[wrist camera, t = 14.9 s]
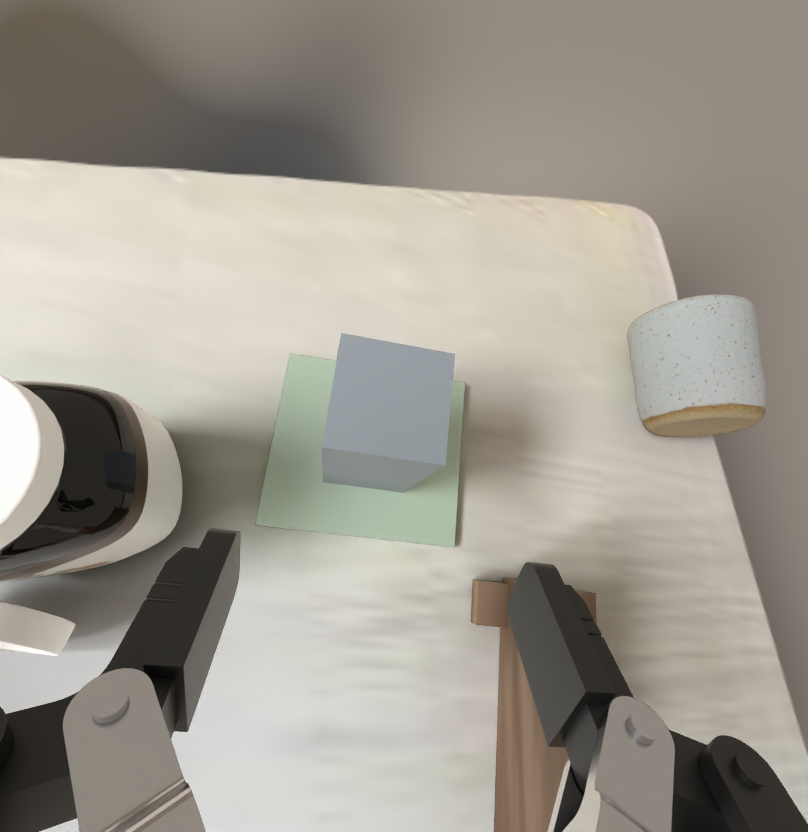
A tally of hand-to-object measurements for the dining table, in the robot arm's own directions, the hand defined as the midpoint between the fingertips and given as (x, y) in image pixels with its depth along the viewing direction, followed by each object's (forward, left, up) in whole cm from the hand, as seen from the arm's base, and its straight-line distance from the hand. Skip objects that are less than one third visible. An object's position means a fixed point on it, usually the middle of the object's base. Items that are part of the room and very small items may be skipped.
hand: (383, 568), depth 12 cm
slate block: (0, +6, -14) cm, 15 cm away
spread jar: (-15, 0, -15) cm, 21 cm away
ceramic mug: (+23, +15, -15) cm, 31 cm away
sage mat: (0, +7, -15) cm, 16 cm away
